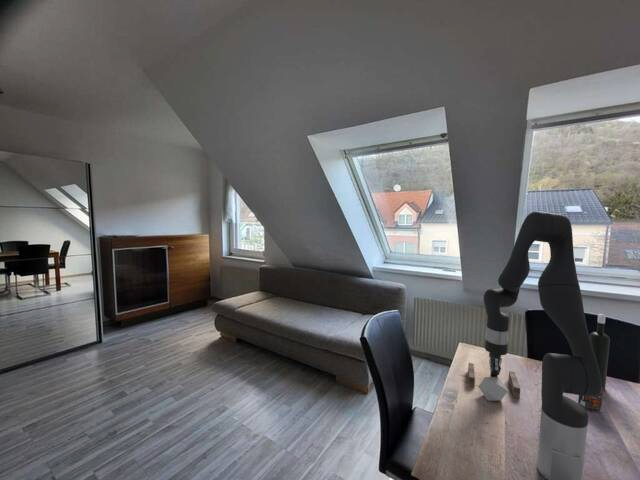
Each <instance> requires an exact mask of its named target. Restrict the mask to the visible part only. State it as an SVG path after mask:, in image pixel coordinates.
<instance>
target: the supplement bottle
mask: <svg viewBox="0 0 640 480" xmlns="http://www.w3.org/2000/svg"><path fill="white" fill-rule="evenodd" d="M603 393H604V391H603V387H602V390H601V393H600V395H599V396H597V397H588V396H582V395H578V399H577V400H578V401H577V403H578V404H580V405H581V406H582V407H583V408H584V409H585V410H586V411H587V412H591V413H599V412H601V409H602V402H603Z"/></svg>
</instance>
